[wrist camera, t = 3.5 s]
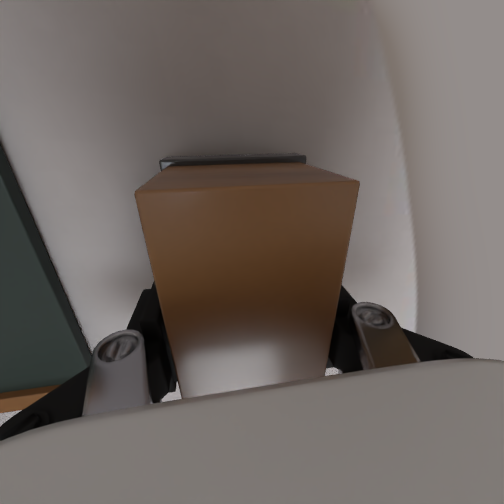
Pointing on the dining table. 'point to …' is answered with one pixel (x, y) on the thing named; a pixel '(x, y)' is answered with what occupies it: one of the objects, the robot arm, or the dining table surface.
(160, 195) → the eraser
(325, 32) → the dining table surface
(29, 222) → the board
